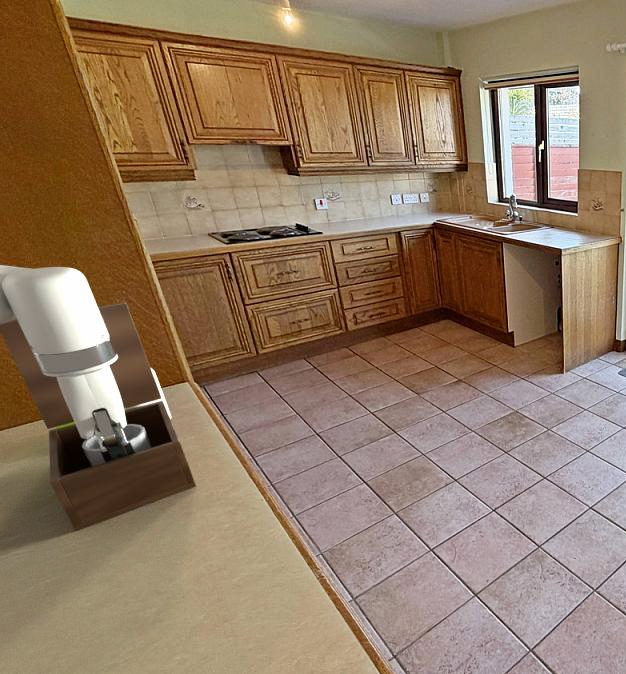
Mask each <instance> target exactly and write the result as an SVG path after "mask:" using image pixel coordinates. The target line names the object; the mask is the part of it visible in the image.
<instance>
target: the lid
mask: <svg viewBox="0 0 626 674" xmlns="http://www.w3.org/2000/svg"><path fill="white" fill-rule="evenodd" d="M97 307H98V309H99V311H100V314H101V316H102V319H103V321H104V324H105V326H106V329H107V331H108V334H109V336H110V339H111V341H112V344H113V346H114V348H115V351H116V354H117V356H118V359H117V360H116V361H115V362H113V363H112V364H110V365H109V366H110V369H111V371H112V374H113V376H114V379H115V381H116V384H117V387H118V390H119V392H120V396H121V399H122V403H123V407H124V409H125V408H129V407H132V406H136V405H140V404H144V403H148V402H151V401H155V400H159V399H162V397H161V395H160V392H159V389H158V386H157V384H156V381H155V378H154V376H153V373H152V370H151V368H152V367H151V366H150V363H149V360H148V357H147V355H146V352H145V349H144V346H143V344H142V341H141V339H140V335H139V333H138V330H137V328H136V325H135V322H134V320H133V317H132V315H131V311H130V309H129V306H128V304H127V302H122V303H115V304H109V305H102V306H97ZM0 334H1V336H2V338H3V340H4V342H5V344H6V346H7V348H8V351H9V352H10V355H11V356H12V358H13V361H14V362H15V365H16V367H17V369H18V371H19V373H20V375H21V377H22V380H23V381H24V384H25V386H26V388H27V390H28V392H29V393H30V396H31V398H32V400H33V402H34V404H35V406H36V408H37V411H38V412H39V415H40V417H41V418H42V420H43V422H44V424H45V426H46V429H48V430H50V429H54V428H55V427H57V426H61V425H65V424H68V423H72V422H74V419H73V417H72V415H71V413H70V410H69V408H68V406H67V404H66V401H65V399H64V397H63V394H62V392H61V389H60V387H59V384H58V381H57V377H51V376H46V375H44V374H43V372H42V370H41V368H40V366H39V364H38V362H37V360H36V358H35V356H34V354H33V351H32V349H31V347H30V345H29V343H28V341H27V339H26V337H25V335H24V333H23V331H22V329H21V327H20V325H19V323H18V320H17V319H16V320H13V321H10V322H7V323H4V324H1V325H0Z"/></svg>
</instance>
